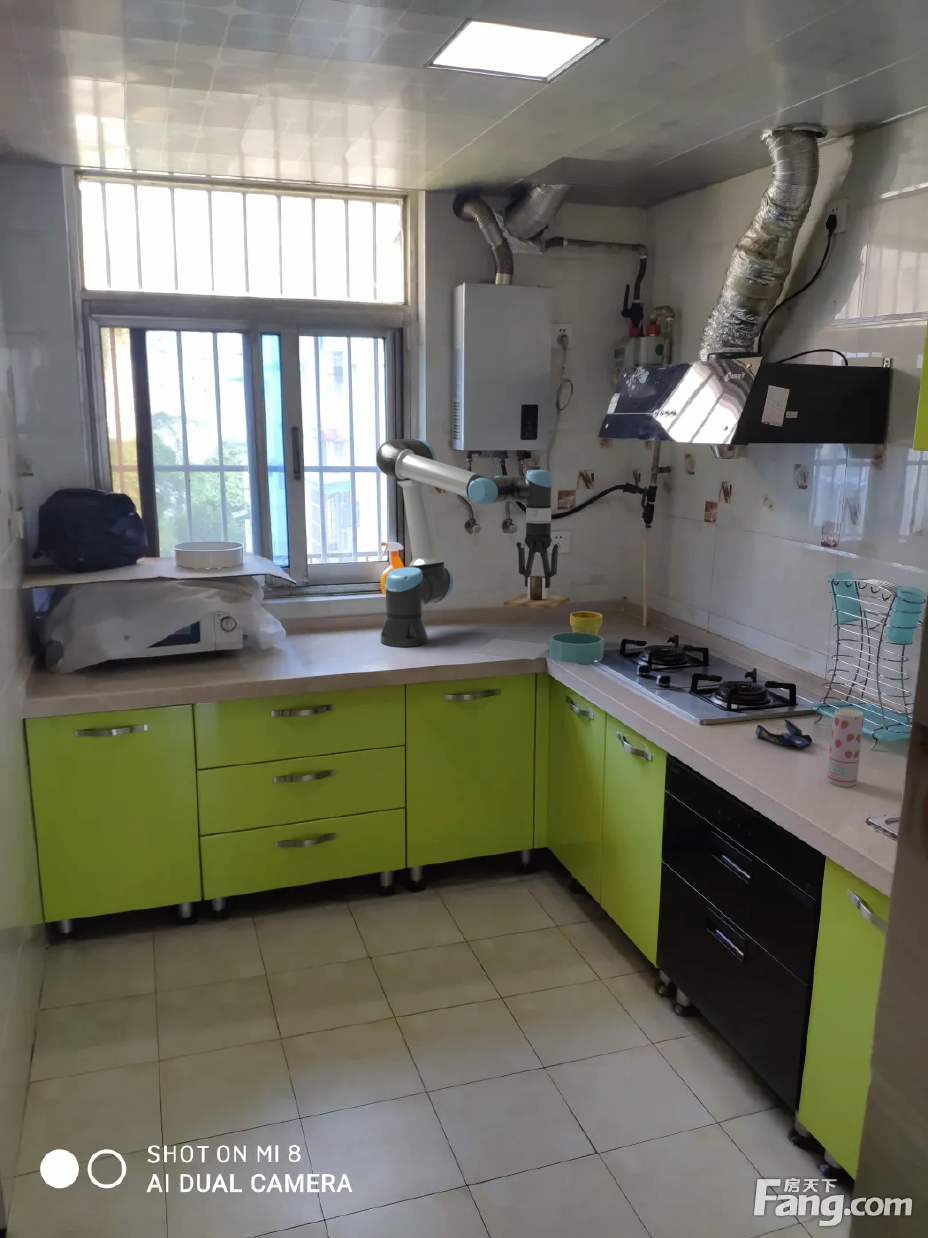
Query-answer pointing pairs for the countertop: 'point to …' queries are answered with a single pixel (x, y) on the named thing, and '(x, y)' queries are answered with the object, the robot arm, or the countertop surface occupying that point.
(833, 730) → the beverage can
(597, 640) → the bowl
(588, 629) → the plant pot
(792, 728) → the snack package
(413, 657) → the countertop surface
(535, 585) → the lid
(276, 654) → the countertop surface
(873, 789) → the countertop surface
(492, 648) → the mat
